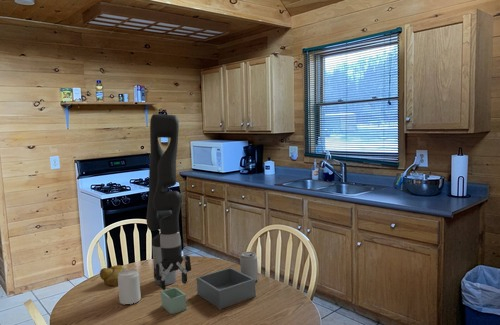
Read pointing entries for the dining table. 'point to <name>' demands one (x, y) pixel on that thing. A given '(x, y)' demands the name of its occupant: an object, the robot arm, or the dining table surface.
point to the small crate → (173, 300)
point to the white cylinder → (129, 286)
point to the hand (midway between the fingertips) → (174, 286)
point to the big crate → (226, 287)
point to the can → (249, 264)
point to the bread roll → (111, 274)
